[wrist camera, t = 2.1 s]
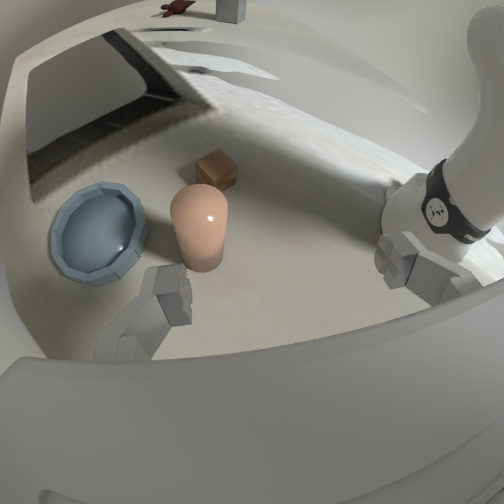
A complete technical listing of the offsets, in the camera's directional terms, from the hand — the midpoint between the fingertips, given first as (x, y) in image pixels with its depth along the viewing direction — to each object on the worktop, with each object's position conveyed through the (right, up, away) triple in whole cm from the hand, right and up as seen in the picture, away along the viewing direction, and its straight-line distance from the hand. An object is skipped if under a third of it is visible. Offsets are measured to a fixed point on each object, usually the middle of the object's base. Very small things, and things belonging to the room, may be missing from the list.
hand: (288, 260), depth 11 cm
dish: (-22, +3, +22) cm, 31 cm away
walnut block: (-7, +11, +27) cm, 30 cm away
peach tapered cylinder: (-8, 0, +23) cm, 24 cm away
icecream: (-28, +88, +55) cm, 108 cm away
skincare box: (-9, +78, +54) cm, 95 cm away
